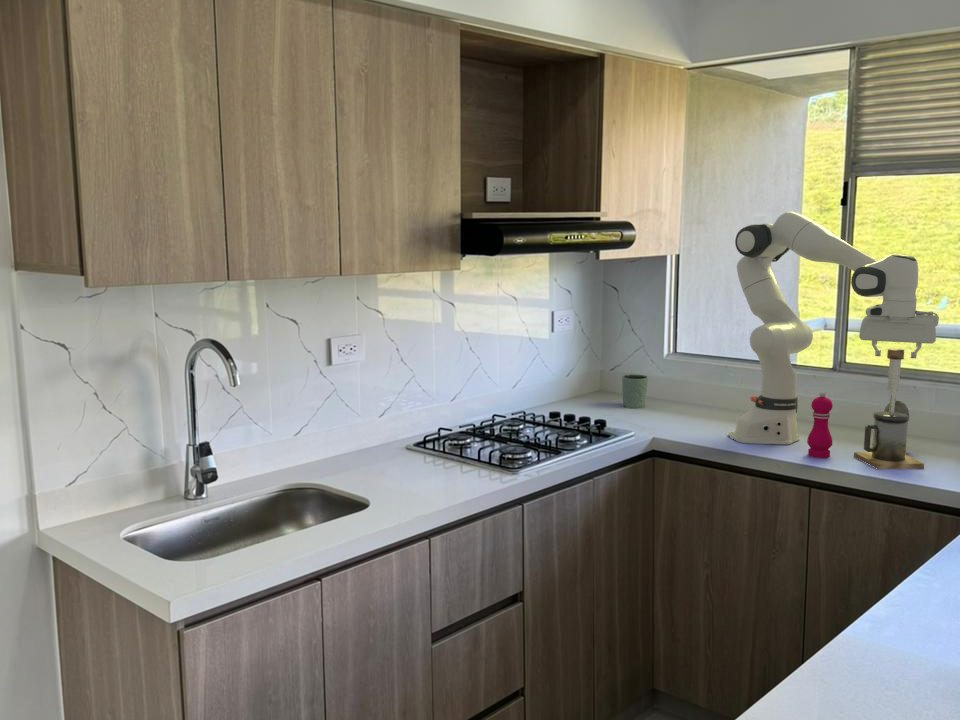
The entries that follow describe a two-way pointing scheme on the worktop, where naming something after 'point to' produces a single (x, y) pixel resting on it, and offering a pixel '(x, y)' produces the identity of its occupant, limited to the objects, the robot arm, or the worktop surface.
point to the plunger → (894, 368)
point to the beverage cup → (898, 407)
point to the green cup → (634, 390)
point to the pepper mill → (820, 428)
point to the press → (888, 434)
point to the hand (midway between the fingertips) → (895, 357)
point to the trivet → (889, 462)
